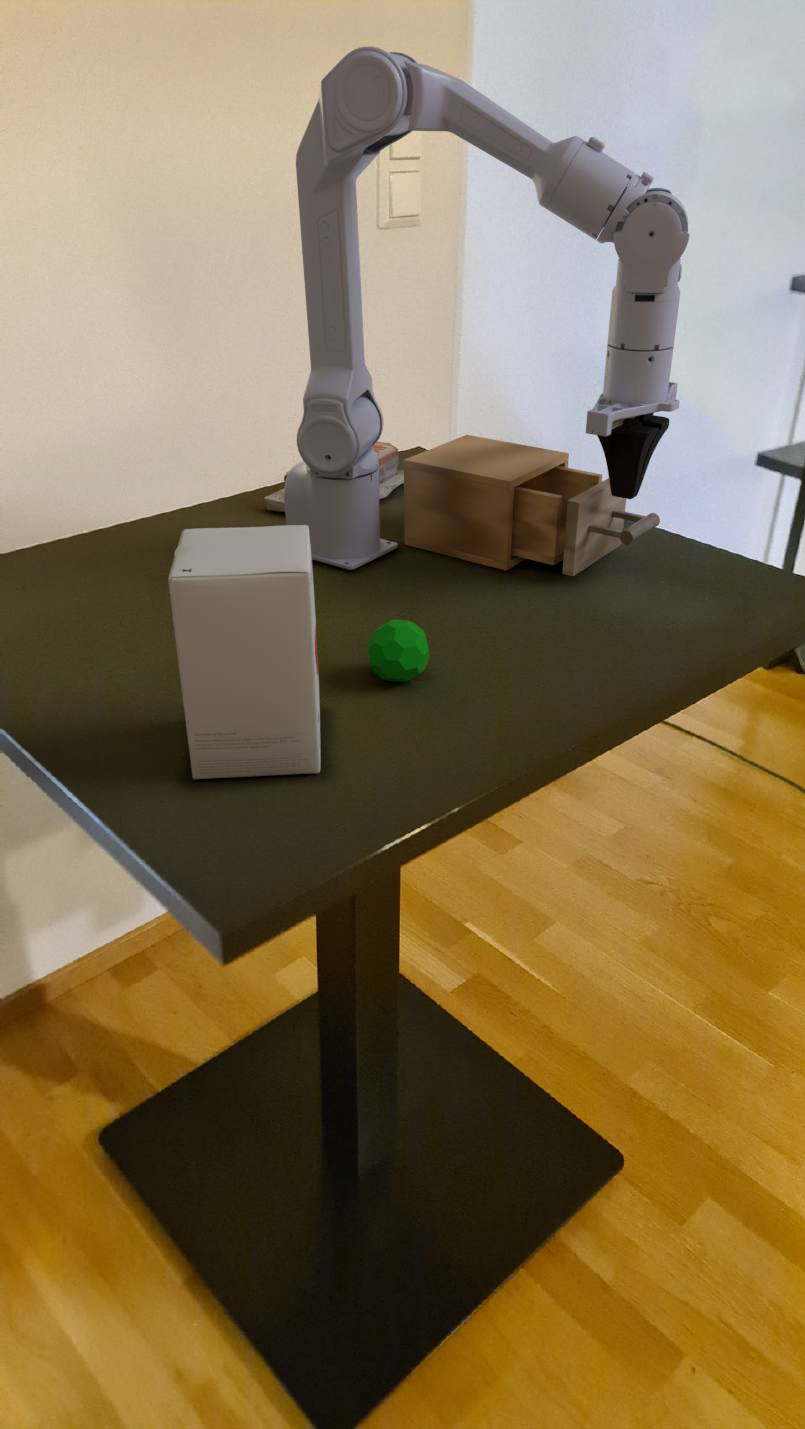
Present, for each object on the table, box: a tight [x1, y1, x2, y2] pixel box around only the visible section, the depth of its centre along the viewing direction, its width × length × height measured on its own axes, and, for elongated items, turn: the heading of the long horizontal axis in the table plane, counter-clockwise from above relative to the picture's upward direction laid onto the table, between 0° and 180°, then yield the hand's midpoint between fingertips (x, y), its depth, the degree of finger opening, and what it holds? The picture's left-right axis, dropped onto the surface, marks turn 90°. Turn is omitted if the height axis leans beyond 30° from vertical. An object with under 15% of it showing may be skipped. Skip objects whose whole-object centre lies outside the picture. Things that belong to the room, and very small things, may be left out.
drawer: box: [511, 466, 661, 577], centre depth 101 cm, size 16×10×7 cm, turn 53°
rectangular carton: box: [167, 524, 322, 780], centre depth 70 cm, size 9×9×15 cm
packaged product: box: [263, 441, 404, 513], centre depth 121 cm, size 18×5×10 cm
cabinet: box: [403, 434, 570, 571], centre depth 106 cm, size 13×12×9 cm
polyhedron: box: [366, 619, 431, 683], centre depth 81 cm, size 5×5×5 cm
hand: (624, 495), depth 96 cm, fingers closed
